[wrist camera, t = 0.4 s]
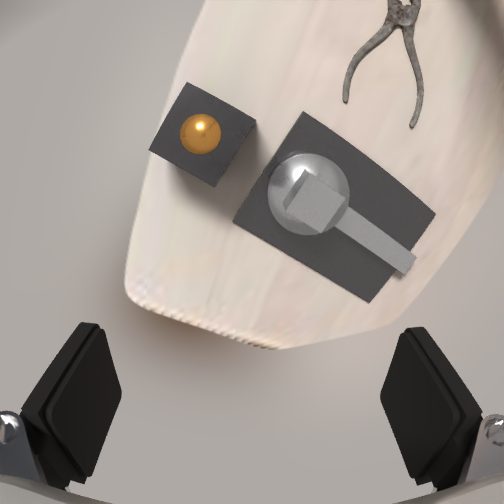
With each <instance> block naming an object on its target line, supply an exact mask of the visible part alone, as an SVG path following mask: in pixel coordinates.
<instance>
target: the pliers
mask: <svg viewBox="0 0 504 504" xmlns="http://www.w3.org/2000/svg"><path fill="white" fill-rule="evenodd" d="M410 1H411V5H406V6H404V5H402V2H401V1H399V0H388V13H387V16H386V19H385V22H384V24H383V26H382V28H381V29H380V30H379V31H378V32H377V33H376V34H375V35H374V36H373V37H372V38H371V39H370V40H369V41H368V42H367V43H366V44H365V45H364V46H363V47H361V48H360V49H359V51H358V52H357V53H356V54H355V55H354V57H353V59H352V60H351V62H350V64H349V67H348V69H347V72H346V76H345V79H344V85H343V101H344V103H346V102H348V96H349V86H350V81H351V78H352V75H353V72H354V70H355V68H356V66H357V64H358V63H359V61H360V60H361V58H362V57H364V56H365V55H366V54H367V53H368V52H369V51H370V50H371V49H373V48H374V47H375V46H376V45H378V44H379V43H380V42H382V41H383V40H384V39H385V38H386V37H387V36H388V35H389V34H390V33H391V32H392V31H393V29H394V28H395V27H396V25H400V26H401V27H402V32H403V38H404V42H405V46H406V49H407V52H408V55H409V58H410V61H411V64H412V67H413V70H414V74H415V77H416V82H417V102H416V108H415V111H414V114H413V117H412V119H411V122H410V124H409V126H410V128H413V127H414V126H415V124H416V122H417V120H418V117H419V114H420V111H421V107H422V102H423V93H424V89H423V78H422V73H421V69H420V65H419V62H418V58H417V54H416V51H415V47H414V42H413V32H414V23H415V20H416V17H417V15H418V12H419V8H420V5H421V0H410Z"/></svg>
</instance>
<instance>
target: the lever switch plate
mask: <svg viewBox="0 0 504 504" xmlns="http://www.w3.org/2000/svg"><path fill="white" fill-rule="evenodd" d="M435 215H436V214H435V213H434V212H433V211H432V210H431V209H430V208H429V207H428V206H427V205H425V204H424V203H423V202H422V201H421V200H420V199H419V198H418V197H416V196H415V195H414V194H413V193H412V192H411V191H409V190H408V189H407V188H406V187H405V186H404V185H402V184H401V183H400V182H399V181H398V180H396V179H395V178H394V177H393V176H391V175H390V174H389V173H388V172H386V171H385V170H384V169H383V168H381V167H380V166H379V165H378V164H376V163H375V162H374V161H373V160H371V159H370V158H369V157H367V156H366V155H365V154H363V153H362V152H361V151H359V150H358V149H357V148H355V147H354V146H353V145H351V144H350V143H349V142H347V141H346V140H345V139H343V138H342V137H340V136H339V135H338V134H336V133H335V132H333V131H332V130H330V129H329V128H328V127H326V126H325V125H323V124H322V123H320V122H319V121H317V120H316V119H314V118H313V117H311V116H310V115H308V114H307V113H305V112H304V111H303V112H302V113H301V115H300V116H299V118H298V119H297V121H296V122H295V124H294V125H293V127H292V128H291V130H290V131H289V133H288V134H287V136H286V137H285V139H284V140H283V142H282V144H281V145H280V147H279V148H278V150H277V151H276V153H275V154H274V156H273V157H272V159H271V160H270V162H269V164H268V165H267V167H266V168H265V170H264V171H263V173H262V174H261V176H260V178H259V179H258V181H257V182H256V184H255V185H254V187H253V189H252V190H251V192H250V193H249V195H248V196H247V198H246V200H245V201H244V203H243V204H242V206H241V207H240V209H239V211H238V212H237V214H236V215H235V217H234V219H233V222H235V223H236V224H238V225H240V226H241V227H243V228H245V229H247V230H248V231H250V232H252V233H253V234H255V235H257V236H259V237H260V238H262V239H264V240H265V241H267V242H269V243H270V244H272V245H274V246H276V247H277V248H279V249H281V250H282V251H284V252H286V253H287V254H289V255H291V256H292V257H294V258H296V259H298V260H299V261H301V262H303V263H304V264H306V265H308V266H309V267H311V268H313V269H314V270H316V271H318V272H319V273H321V274H323V275H324V276H326V277H328V278H329V279H331V280H333V281H334V282H336V283H338V284H339V285H341V286H343V287H344V288H346V289H348V290H349V291H351V292H353V293H354V294H356V295H358V296H359V297H361V298H363V299H364V300H366V301H368V302H369V303H370V301H371V300H372V299H373V298H374V297H375V295H376V294H377V293H378V292H379V290H380V289H381V288H382V287H383V285H384V284H385V283H386V282H387V280H388V279H389V278H390V277H391V275H392V274H393V273H394V271H395V270H396V269H397V270H398V271H400V272H401V273H403V274H405V273H406V272H407V270H408V269H409V268H410V266H411V265H412V264H413V262H414V261H415V260H416V258H417V257H416V256H415V255H414V254H413V253H411V252H410V250H411V249H412V248H413V246H414V245H415V243H416V242H417V241H418V239H419V238H420V236H421V235H422V234H423V232H424V231H425V229H426V228H427V227H428V225H429V224H430V222H431V221H432V219H433V218H434V216H435Z"/></svg>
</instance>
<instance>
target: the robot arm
mask: <svg viewBox="0 0 504 504" xmlns="http://www.w3.org/2000/svg"><path fill="white" fill-rule="evenodd" d="M121 393H122V392H121V387H120V384H119V381H118V378H117V374H116V370H115V367H114V364H113V360H112V357H111V353H110V349H109V346H108V342H107V338H106V334H105V331H104V330H103V329H100V326H99V325H98V324H94V323H84V322H81V323H80V324H79V325H78V326H77V328H76V329H75V330H74V332H73V333H72V335H71V336H70V337H69V339H68V340H67V341H66V343H65V344H64V346H63V347H62V349H61V350H60V351H59V353H58V354H57V355H56V357H55V358H54V360H53V361H52V363H51V364H50V365H49V367H48V368H47V370H46V371H45V373H44V374H43V376H42V377H41V379H40V380H39V382H38V383H37V385H36V386H35V388H34V389H33V391H32V392H31V394H30V395H29V397H28V399H27V400H26V402H25V403H24V405H23V407H22V408H21V409H22V411H21V413H20V415H18V414H17V413H14V412H12V411H0V504H111V503H107V502H103V501H99V500H95V499H91V498H87V497H84V496H80V495H76V494H73V493H71V492H70V490H69V488H68V485H69V483H70V480H72V481H75V482H78V483H82V484H85V481H86V479H87V477H90V476H92V474H93V471H94V469H95V466H96V463H97V460H98V457H99V455H100V452H101V449H102V446H103V444H104V441H105V438H106V436H107V433H108V431H109V428H110V425H111V423H112V420H113V418H114V415H115V412H116V410H117V407H118V405H119V402H120V400H121ZM380 399H381V403H382V405H383V408H384V410H385V413H386V415H387V418H388V420H389V423H390V425H391V428H392V431H393V433H394V436H395V438H396V441H397V444H398V446H399V449H400V451H401V454H402V457H403V459H404V462H405V465H406V468H407V470H408V473H409V475H410V477H411V478H415V481H416V484H417V485H421V484H425V483H428V482H431V481H432V483H433V486H434V488H433V490H432V493H431V494H428V495H425V496H421V497H418V498H414V499H410V500H406V501H402V502H399V503H395V504H504V416H503V415H499V414H492V415H489V416H487V417H485V418H484V419H483V418H482V416H481V413H482V410H481V408H480V407H479V405H478V404H477V402H476V401H475V399H474V397H473V396H472V394H471V393H470V391H469V390H468V389H467V387H466V385H465V384H464V383H463V381H462V379H461V378H460V377H459V375H458V374H457V372H456V371H455V369H454V368H453V367H452V365H451V364H450V362H449V361H448V359H447V358H446V356H445V355H444V354H443V353H442V351H441V349H440V348H439V347H438V346H437V344H436V343H435V341H434V340H433V338H432V337H431V336H430V334H429V333H428V332H427V330H426V329H425V328H424V327H413V328H407V329H406V330H405V331H404V333H402V334H400V336H399V340H398V343H397V346H396V350H395V352H394V355H393V358H392V362H391V364H390V367H389V370H388V373H387V376H386V379H385V382H384V385H383V388H382V390H381V394H380Z"/></svg>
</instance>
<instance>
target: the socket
mask: <svg viewBox="0 0 504 504" xmlns="http://www.w3.org/2000/svg"><path fill="white" fill-rule="evenodd" d="M255 122H256V120H255V119H253V118H252V117H250V116H248V115H247V114H245V113H243V112H242V111H240V110H238V109H236V108H235V107H233V106H231V105H229V104H227V103H226V102H224V101H222V100H220V99H218V98H217V97H215V96H213V95H211V94H209V93H207V92H206V91H204V90H202V89H200V88H198V87H196V86H194V85H192V84H190V83H188V82H187V83H186V84H185V86H184V88H183V89H182V91H181V92H180V94H179V96H178V98H177V99H176V101H175V103H174V104H173V106H172V108H171V109H170V111H169V113H168V115H167V117H166V118H165V120H164V122H163V124H162V125H161V127H160V129H159V131H158V133H157V135H156V136H155V138H154V140H153V142H152V144H151V146H150V148H149V150H150V151H151V152H153V153H155V154H157V155H159V156H160V157H162V158H164V159H166V160H168V161H169V162H171V163H173V164H175V165H176V166H178V167H180V168H182V169H184V170H185V171H187V172H189V173H191V174H192V175H194V176H196V177H198V178H199V179H201V180H203V181H204V182H206V183H208V184H210V185H211V186H213V187H215V186H216V184H217V183H218V181H219V179H220V178H221V176H222V175H223V173H224V171H225V170H226V168H227V166H228V165H229V163H230V161H231V160H232V158H233V157H234V155H235V153H236V152H237V150H238V148H239V147H240V145H241V144H242V142H243V140H244V139H245V137H246V136H247V134H248V133H249V131H250V129H251V128H252V126H253V125H254V123H255Z"/></svg>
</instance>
